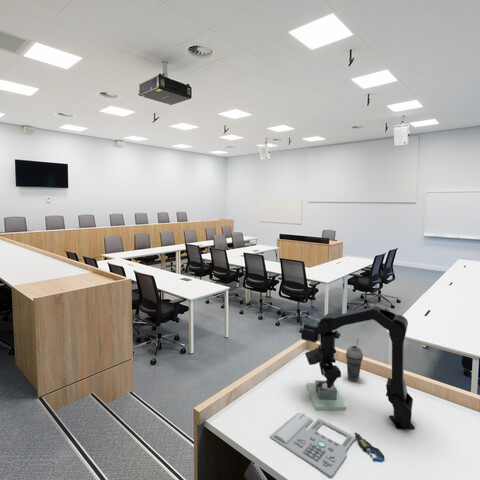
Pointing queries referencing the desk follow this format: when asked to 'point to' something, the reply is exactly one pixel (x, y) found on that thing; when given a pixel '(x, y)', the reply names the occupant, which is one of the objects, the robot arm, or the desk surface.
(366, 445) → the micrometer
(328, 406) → the keyed post stand
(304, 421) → the office telephone
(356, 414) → the desk surface
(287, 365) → the desk surface
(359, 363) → the beverage cup
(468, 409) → the desk surface
